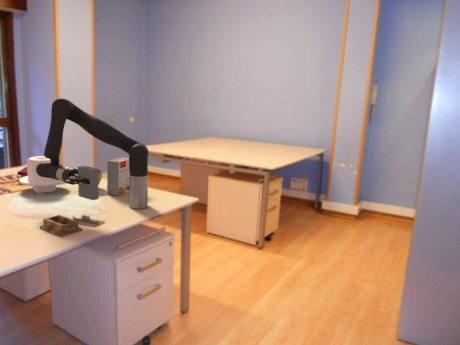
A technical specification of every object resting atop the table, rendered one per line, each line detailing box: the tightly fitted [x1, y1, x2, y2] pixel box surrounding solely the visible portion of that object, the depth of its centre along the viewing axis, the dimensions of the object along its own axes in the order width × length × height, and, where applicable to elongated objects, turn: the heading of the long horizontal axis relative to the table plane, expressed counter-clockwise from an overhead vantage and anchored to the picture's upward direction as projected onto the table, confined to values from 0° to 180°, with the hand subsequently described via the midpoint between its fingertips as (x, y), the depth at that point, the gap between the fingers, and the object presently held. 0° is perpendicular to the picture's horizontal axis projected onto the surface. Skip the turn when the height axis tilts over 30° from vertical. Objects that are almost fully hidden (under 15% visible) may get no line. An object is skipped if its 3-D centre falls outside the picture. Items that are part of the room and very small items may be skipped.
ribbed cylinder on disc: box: [18, 155, 65, 194], centre depth 223 cm, size 25×25×19 cm
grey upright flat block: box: [77, 165, 99, 201], centre depth 175 cm, size 10×3×14 cm, turn 57°
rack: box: [39, 214, 83, 238], centre depth 167 cm, size 15×10×4 cm, turn 57°
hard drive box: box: [106, 156, 130, 197], centre depth 228 cm, size 16×8×20 cm, turn 161°
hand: (92, 181), depth 173 cm, fingers closed on grey upright flat block, 3 cm apart
